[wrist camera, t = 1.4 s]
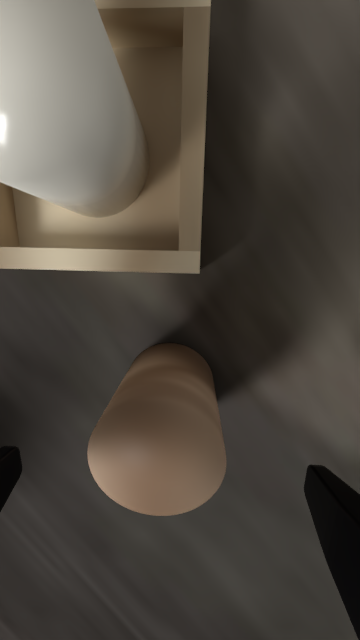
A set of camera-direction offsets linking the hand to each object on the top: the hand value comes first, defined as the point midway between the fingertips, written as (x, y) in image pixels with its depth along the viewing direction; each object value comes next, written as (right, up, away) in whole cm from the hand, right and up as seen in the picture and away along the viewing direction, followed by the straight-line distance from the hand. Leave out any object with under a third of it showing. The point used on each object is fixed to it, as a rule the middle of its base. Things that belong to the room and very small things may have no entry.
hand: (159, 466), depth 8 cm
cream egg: (-3, +11, +2) cm, 11 cm away
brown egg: (0, +1, +5) cm, 5 cm away
